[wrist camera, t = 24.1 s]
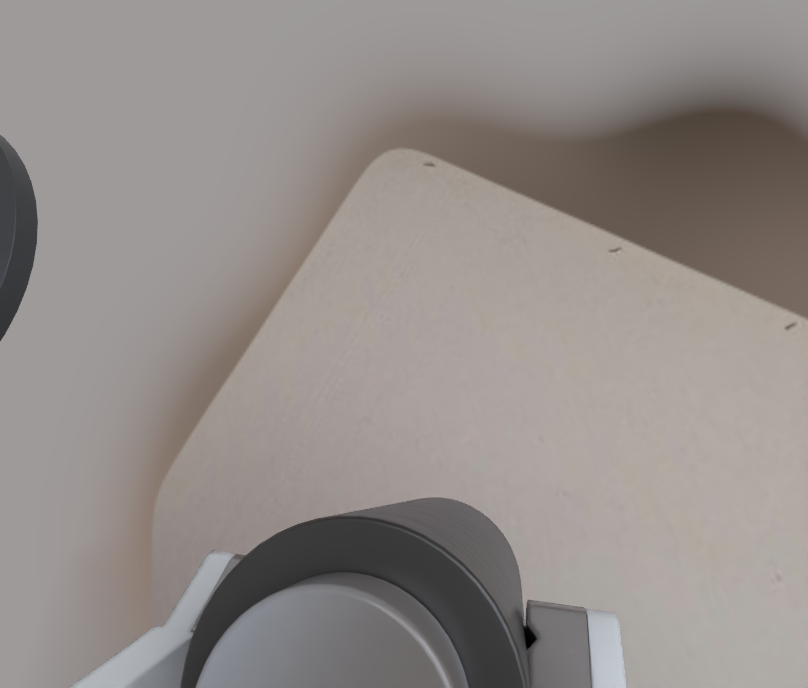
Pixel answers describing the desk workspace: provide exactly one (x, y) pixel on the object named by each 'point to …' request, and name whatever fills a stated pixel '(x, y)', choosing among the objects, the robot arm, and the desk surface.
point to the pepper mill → (369, 606)
